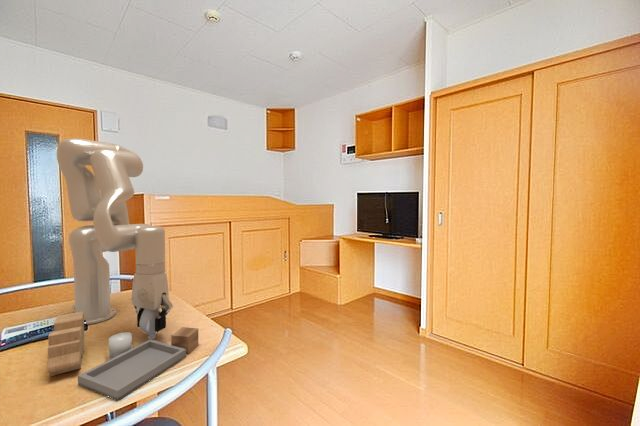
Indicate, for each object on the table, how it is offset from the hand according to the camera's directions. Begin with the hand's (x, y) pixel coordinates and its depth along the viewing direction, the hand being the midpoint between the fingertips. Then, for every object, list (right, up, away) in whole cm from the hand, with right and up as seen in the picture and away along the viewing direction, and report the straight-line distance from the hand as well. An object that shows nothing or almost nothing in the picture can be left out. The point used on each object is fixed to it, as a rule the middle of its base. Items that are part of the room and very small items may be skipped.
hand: (151, 327), depth 87 cm
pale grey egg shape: (-3, -4, -9) cm, 11 cm away
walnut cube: (+13, -4, -6) cm, 14 cm away
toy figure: (0, -3, 0) cm, 3 cm away
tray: (+5, -4, -16) cm, 17 cm away
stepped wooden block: (-14, -4, -13) cm, 19 cm away
